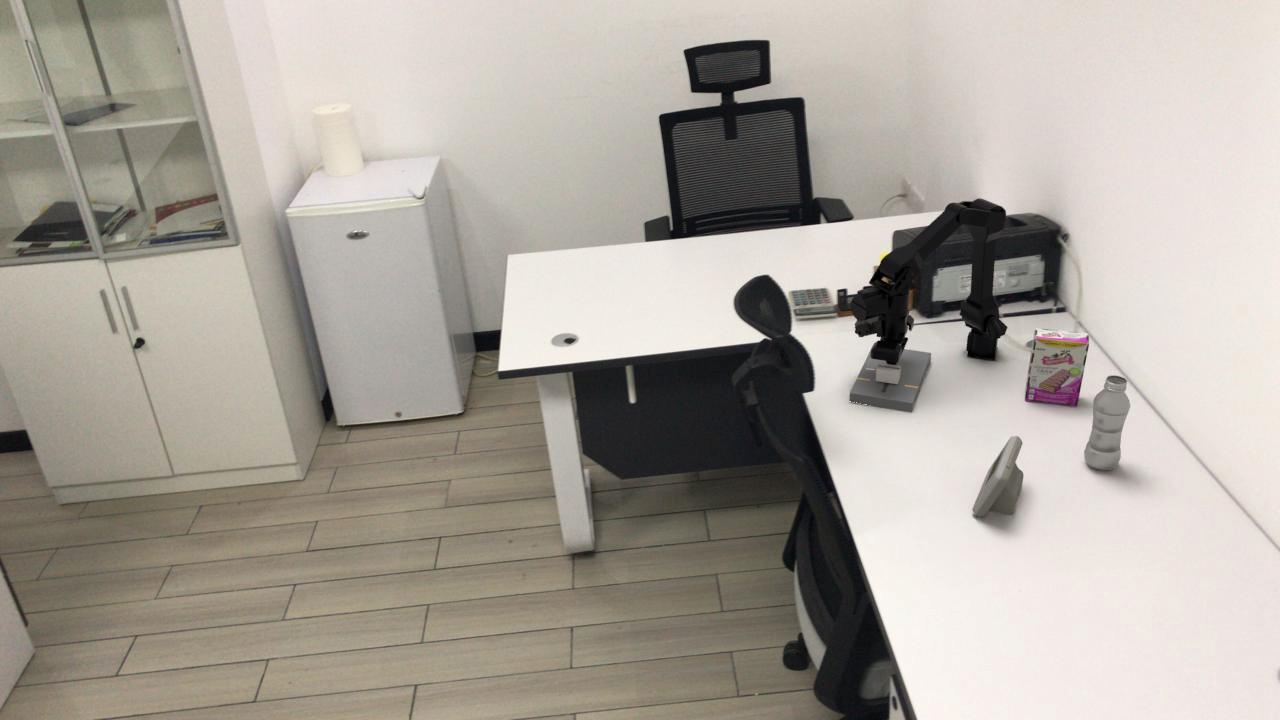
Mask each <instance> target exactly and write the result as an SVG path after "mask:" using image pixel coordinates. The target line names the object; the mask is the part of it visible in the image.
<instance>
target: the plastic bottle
mask: <svg viewBox="0 0 1280 720" xmlns="http://www.w3.org/2000/svg"><path fill="white" fill-rule="evenodd" d="M1127 384H1128V380H1127V379H1126V377H1123V376H1121V375H1116V374H1115V375H1114V374H1113V375H1108V376H1107V377H1106V378H1105V381H1104V384H1103V389H1102V390H1100V391H1099V392H1098V393H1097V394H1096V395H1095V396H1094V398H1093V400H1092V426H1091V431H1090V435H1089V437H1088V441H1087V442H1086V444H1085V448H1084V452H1083V453H1084V454H1083V455H1084V460H1085V462H1086V464H1087V465H1088V466H1089V467H1091V468H1093V469H1096V470H1100V471H1110V470H1113V469H1115V468H1116V467H1117V466H1118V465H1119V463H1120V460H1121V458H1122V456H1121V455H1122V450H1121V442H1122V440H1121V439H1122V433H1123V429H1124V425H1125V423H1126V422H1125V421H1126V420H1127V416H1128V415H1129V411H1130V408H1131V402H1130V399H1129V397H1128V395H1127V394H1126V391H1127Z"/></svg>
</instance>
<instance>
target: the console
mask: <svg viewBox="0 0 1280 720" xmlns="http://www.w3.org/2000/svg"><path fill="white" fill-rule="evenodd" d="M872 347H873V345H872V346H871V348H870V350H869V351H868V355H867V356H866V359H865V360H864V363H863V365H862V367H861V369H860V371H859V372H858V375H857V377H856V379H855V381H854V384H853V386H852V388H851V390H850V392H849V399H848V400H849V401H851V402H855V403H854V404H856V402H857V403H861V404H860V405H862V404H867V405H866V406H868V405H871V406H870V407H876V408H881V409H888V410H894V411H900V412H907V413H912V412H913V410H914V407H915V406H916V405H915V404H916V402H917V400H918V397H919V394H920V391H921V389H922V386H923V383H924V380H925V378H926V375H927V372H928V369H929V367H930V365H931V359H932V352H928V351H920V350H914V349H907V348H904V350H903V353H902V354H901V356H900V359H899V361H898V362H897V363H896V365H898V366H901V376H900V380H899V382H898V384H892V383H886V382H879V381H876V369H877V367H878V365H879V363H884V364H887V363H886V361H883V360H877V359H872V358H871V349H872ZM849 401H848V402H849Z"/></svg>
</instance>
